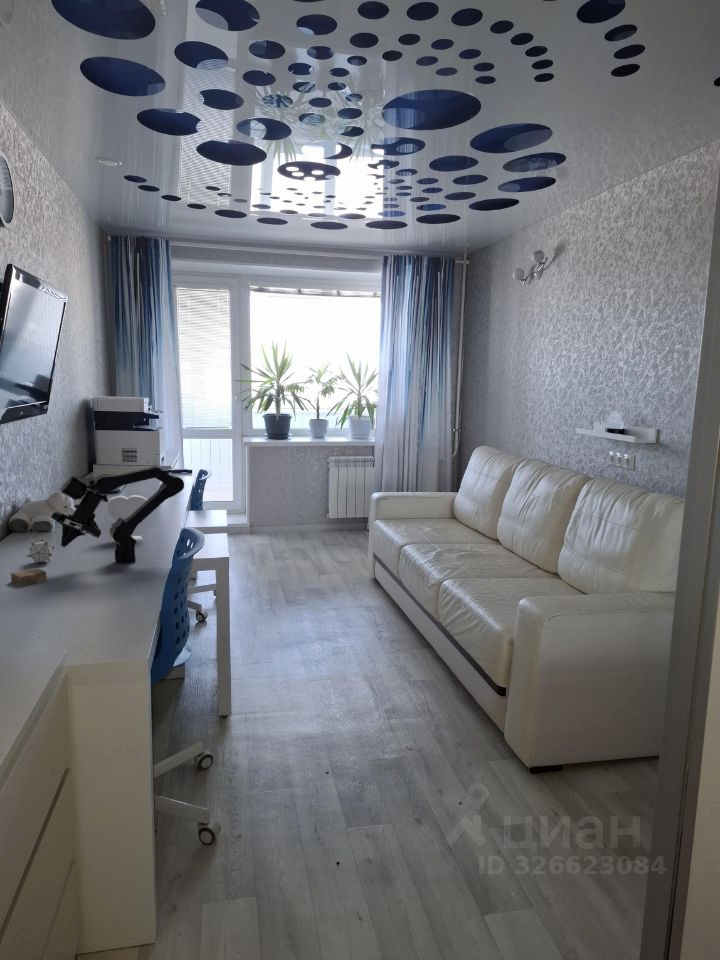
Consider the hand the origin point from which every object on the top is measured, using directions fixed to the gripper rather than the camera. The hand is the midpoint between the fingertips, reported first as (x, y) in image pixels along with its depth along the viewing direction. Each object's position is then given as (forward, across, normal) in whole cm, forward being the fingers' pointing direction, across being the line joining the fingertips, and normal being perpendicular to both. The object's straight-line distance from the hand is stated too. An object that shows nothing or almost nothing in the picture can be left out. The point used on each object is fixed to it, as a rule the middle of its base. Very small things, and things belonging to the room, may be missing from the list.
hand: (62, 546), depth 219 cm
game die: (+7, +15, -11) cm, 20 cm away
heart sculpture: (-18, +14, -44) cm, 49 cm away
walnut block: (+11, 0, +2) cm, 11 cm away
